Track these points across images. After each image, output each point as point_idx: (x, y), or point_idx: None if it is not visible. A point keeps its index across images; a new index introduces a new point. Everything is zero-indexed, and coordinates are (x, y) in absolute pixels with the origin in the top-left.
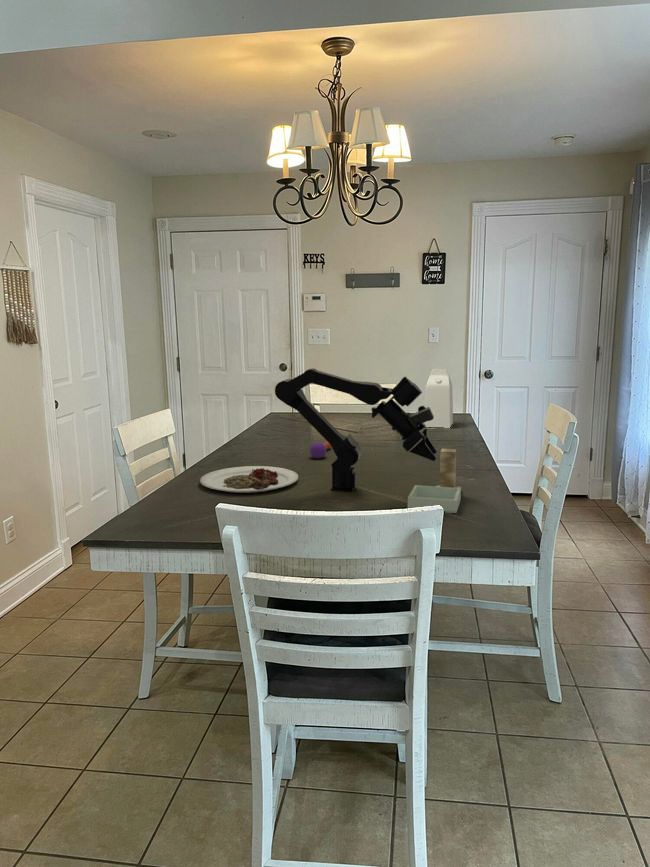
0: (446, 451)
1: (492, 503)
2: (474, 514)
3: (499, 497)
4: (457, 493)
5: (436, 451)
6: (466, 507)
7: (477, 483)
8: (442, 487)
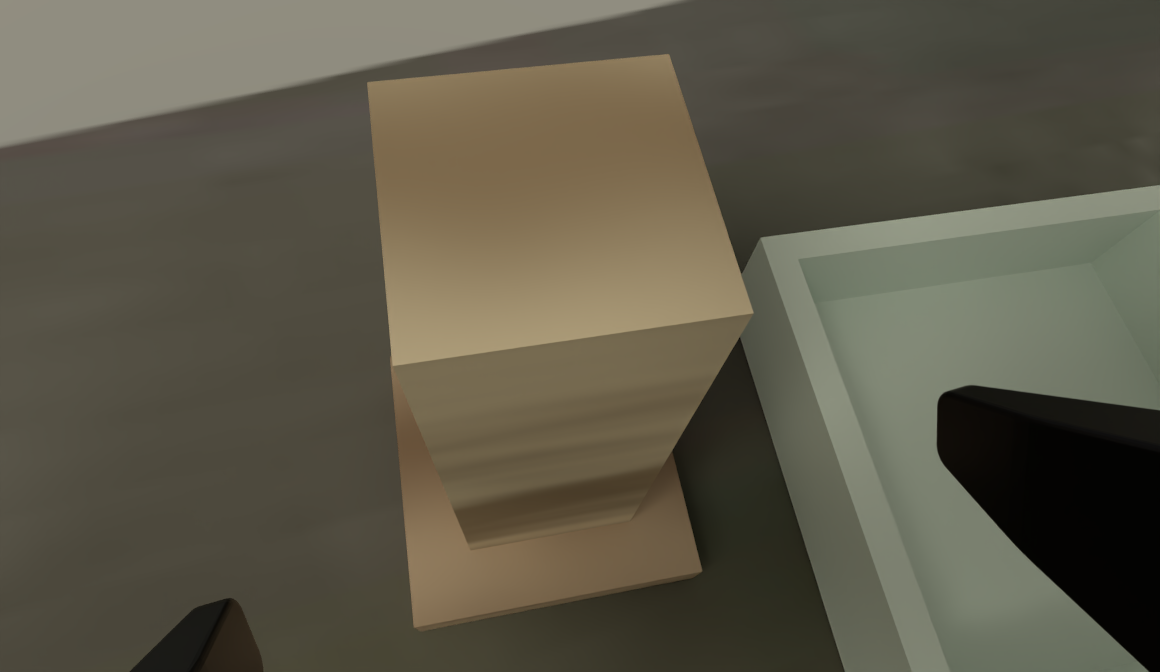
0: (681, 200)
1: None
2: (1007, 145)
3: None
4: (961, 223)
5: (233, 599)
6: None
7: (54, 294)
8: (843, 405)
